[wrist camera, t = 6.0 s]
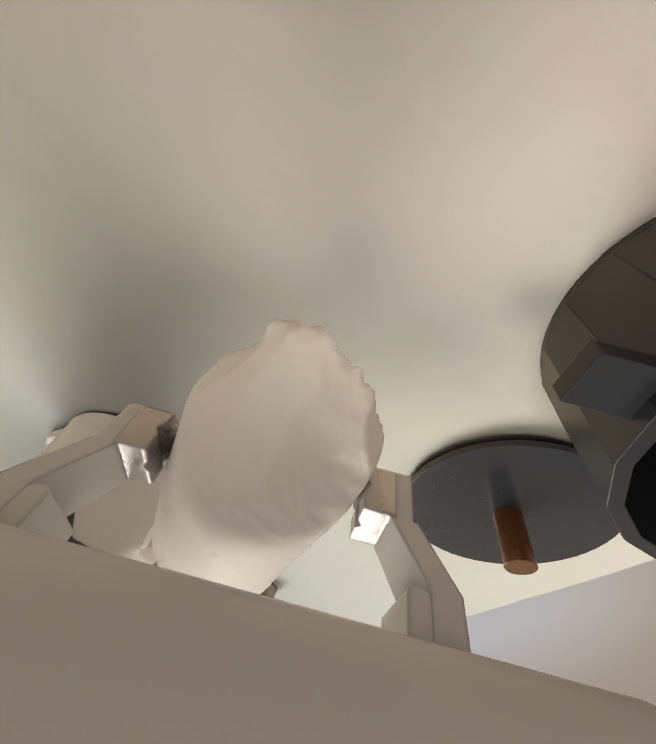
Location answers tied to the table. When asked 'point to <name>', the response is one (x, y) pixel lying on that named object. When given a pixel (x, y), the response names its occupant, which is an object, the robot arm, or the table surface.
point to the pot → (611, 380)
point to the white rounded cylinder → (265, 458)
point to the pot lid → (511, 504)
